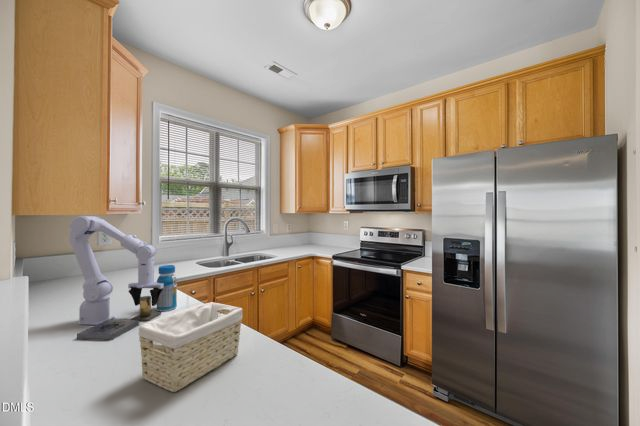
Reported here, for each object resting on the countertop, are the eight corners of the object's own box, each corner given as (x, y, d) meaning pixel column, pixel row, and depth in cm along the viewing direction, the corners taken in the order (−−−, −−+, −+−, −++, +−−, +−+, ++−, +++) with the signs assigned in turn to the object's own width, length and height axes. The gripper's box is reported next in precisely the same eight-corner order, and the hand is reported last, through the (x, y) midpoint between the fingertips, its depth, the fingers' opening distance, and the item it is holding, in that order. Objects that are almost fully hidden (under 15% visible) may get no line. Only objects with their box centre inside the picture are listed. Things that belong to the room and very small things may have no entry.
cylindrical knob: (137, 317, 113) (137, 298, 113) (144, 314, 117) (144, 295, 117) (145, 317, 112) (145, 298, 112) (153, 314, 116) (153, 295, 116)
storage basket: (209, 342, 92) (209, 299, 92) (245, 353, 84) (245, 307, 85) (134, 381, 71) (135, 325, 71) (173, 400, 63) (173, 337, 63)
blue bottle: (161, 313, 120) (161, 268, 120) (153, 309, 125) (153, 266, 125) (180, 308, 127) (180, 265, 127) (172, 304, 132) (172, 263, 132)
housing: (76, 339, 95) (76, 333, 95) (108, 324, 108) (108, 319, 108) (111, 340, 94) (111, 334, 94) (138, 325, 107) (138, 320, 107)
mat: (130, 320, 111) (130, 318, 111) (143, 313, 119) (143, 312, 119) (148, 321, 111) (148, 319, 111) (161, 314, 119) (161, 312, 119)
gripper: (122, 275, 112) (122, 307, 112) (155, 275, 111) (155, 308, 111) (135, 271, 119) (135, 302, 119) (166, 272, 118) (166, 303, 118)
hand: (145, 305), depth 115 cm, fingers open, 7 cm apart
